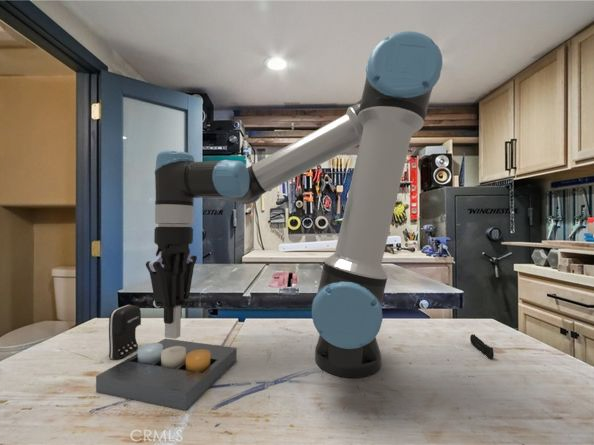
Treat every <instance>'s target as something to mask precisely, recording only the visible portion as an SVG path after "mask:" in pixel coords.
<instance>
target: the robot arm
mask: <svg viewBox="0 0 594 445" xmlns="http://www.w3.org/2000/svg"><path fill="white" fill-rule="evenodd" d="M442 69H443V56H442V51H441V49H440V47H439V45H438V44H436V43H435V42H434V40H433V39H432V38H431V37H429V36H428V35H426V34H424V33H422V32H418V31H410V30H406V31H405V30H404V31H399V32H395V33H392V34H390V35H388V36H387V37H385V38H384V39H382V40H380V41H379V42H378V44H376V45H375V47H374V48H373V50H372V51H371V53H370V55H369V58H368V60H367V63H366V66H365V74H366V76H365V81H364V82H365V83H364V86H363V92H362V96H361V99H359V100H358V101H357V102H356V103H354V104H352V105H351V106H349V107H348V108H347V111H346V113H345V114H343V115H342V116H340V117H338V118H336V119H334V120H333V121H331V122H329V123H327V124H325V125H323V126H321V127H320V128H318V129H316V130H314V131H312V132H310V133H308V134H306V135H305V136H303V137H300V139H297V140H296V141H293V142H292V143H290V144H288V145H286V146H284V147H283V148H281V149H279V150H277V151H275V152H273V153H272V154H270V155H268V156H266V157H264V158H263V159H260V160H259V161H257V162H255V163H253V164H252V165H250V166H248V167H247V166H246V164H245V163H244V162H243V161H241V160H230V159H223V160H208V161H206V160H205V161H195V158H194V155H192V154H191V153H190V152H189V153H188V152H186V151H181V150H162V151H160V152H158V154H157V155H156V160H155V170H154V176H155V177H154V179H155V180H154V182H155V183H154V184H155V201H154V202H155V203H154V205H155V206H154V224H156V225H158V226H156V227H155V228H154V238H153V239H154V241H153V242H154V244H155V245H157V250H156V252H155V258H154V259H153V260H150V261H149V260H148V261H146V262H145V268H146V269H147V271H148V273H149V276H150V283H151V288H152V292H153V299H154V304H155V307H159V308H163V323H164V338H165V339H173V340H177V339H178V338H180V337H181V319H182V314H183V312H182V310H183V309H182V308H183V306H186V304H187V302H188V300H189V298H190V292H191V287H192V280H193V274H194V270H195V269H194V268H195V265H196V262H197V260H198V257H197V255H192V254H191V250H190V246H189V245H191V244H193V243H194V228H193V227H192V226H191V225H193V224H194V223H195V222H194V220H195V219H194V210H195V209H194V202H195V199H199V198H201V199H204V198H205V199H206V198H207V199H209V198H210V199H212V198H213V199H221V200H224V201H225V200H227V201H232V202H235V203H239V204H241V205H242V204H243V205H248V204H249V205H250V204H254V203H256V202H257V201H259V199H260V198H261V196H262V195H263V194H265V193H267V192H269V191H271V190H273V189H276V188H278V187H279V186H281V185H283V184H285V183H287V182H289V181H291V180H292V179H295V178H296V177H298V176H301V175H303V174H304V173H306V172H308V171H310V170H312V169H315V168H316V167H318V166H320V165H322V164H324V163H326V162H328V161H330V160H332V159H333V158H336V157H338V156H340V155H342V154H344V153H345V152H347V151H350V150H351V149H353V148H355V147H358V146H359V147H358V150H357V154H356V159H355V164H354V166H353V172H352V176H351V181H350V186H349V188H348V189H349V190H348V194H347V198H346V203H345V206H344V212H343V216H342V221H341V225H340V229H339V234H338V238H337V242H336V246H335V250H334V252H333V254H331V255H330V256H328V257H327V258H326V259H325V260H324V263H323V265H322V271H321V275H320V279H319V285H318V289H317V292H316V294H315V297H313V299H312V304H311V318H312V322H313V325H314V327H315V329H316V331H317V332H318V334H319V337H318V339H317V343H316V346H315V349H314V350H315V351H314V352H315V353H314V360H315V363H316V365H317V366H318V367H319V368H320V369H321V370H323V371H324V372H326V373H329V374H331V375H335V376H339V377H343V378H344V377H345V378H364V376H365V377H368V375H369V376H372V375H375V374H376V373H377V372H379V370H381V368H382V352H381V350H380V347H379V343H378V340H377V335H378V334H379V332H380V330H381V326H382V323H383V319H384V318H383V310H382V303H383V300H384V299H383V298H384V294H385V289H386V284H387V282H388V277H389V276H388V274H387V273H386V271H385V269H384V267H383V266H382V263H383V259H384V254H385V250H386V245H387V241H388V237H389V233H390V229H391V225H392V222H393V217H394V212H395V207H396V204H397V200H398V195H399V191H400V186H401V182H402V177H403V174H404V169H405V164H406V161H407V156H408V152H409V148H410V143H411V141H412V140H411V139H412V136H413V134H415V133H416V132H418V131H420V130H421V129H422V128H423V127H424V124H425V120H426V119H425V118H426V117H427V116H426V115H427V111H428V108H429V103H430V100H431V94H432V92H433V88H434V87H435V85H436V84H437V83H438V81H439V80H440V77H441V73H442ZM185 300H187V301H185ZM380 367H381V368H380ZM375 372H376V373H375ZM371 374H372V375H371Z"/></svg>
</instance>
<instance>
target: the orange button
mask: <svg viewBox="0 0 594 445" xmlns="http://www.w3.org/2000/svg"><path fill="white" fill-rule="evenodd" d="M209 367H210V351H209V350H205V349H199V350H194V351H191V352H189V353H188V354H187V355H186V371H191V372H197V373H203V372H204V371H205V370H206V369H207V368H209Z"/></svg>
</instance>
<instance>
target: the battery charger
mask: <svg viewBox="0 0 594 445" xmlns="http://www.w3.org/2000/svg"><path fill="white" fill-rule="evenodd" d="M141 324H142V313H141V308H140V307H139V306H138V305H132V304H126V305H124V306H120V307H117V308H116V309H113V310H112V311H111V312H110V314H109V319H108V343H109V344H108V345H109V346H108V348H109V349H108V350H109V352H108V353H109V354H108V358H109V359H112V360H113V359H114V360H115V359H122V358H125V357H127V356H128V355H130V354H131V353H133V352H135V351H137V350H138V349H139V346H138V345H139V344H138V342H137V338H136V337H137V336H136V330H137V327H139V326H141Z"/></svg>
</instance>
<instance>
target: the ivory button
mask: <svg viewBox="0 0 594 445" xmlns="http://www.w3.org/2000/svg"><path fill="white" fill-rule="evenodd" d="M185 362H186V348H185V347H183V346H173V347H169V348H167V349H164V350H163V351H162V352H161V367H167V368H173V369H176V368H178V367H179V366H180V365H182V364H183V363H185Z"/></svg>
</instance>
